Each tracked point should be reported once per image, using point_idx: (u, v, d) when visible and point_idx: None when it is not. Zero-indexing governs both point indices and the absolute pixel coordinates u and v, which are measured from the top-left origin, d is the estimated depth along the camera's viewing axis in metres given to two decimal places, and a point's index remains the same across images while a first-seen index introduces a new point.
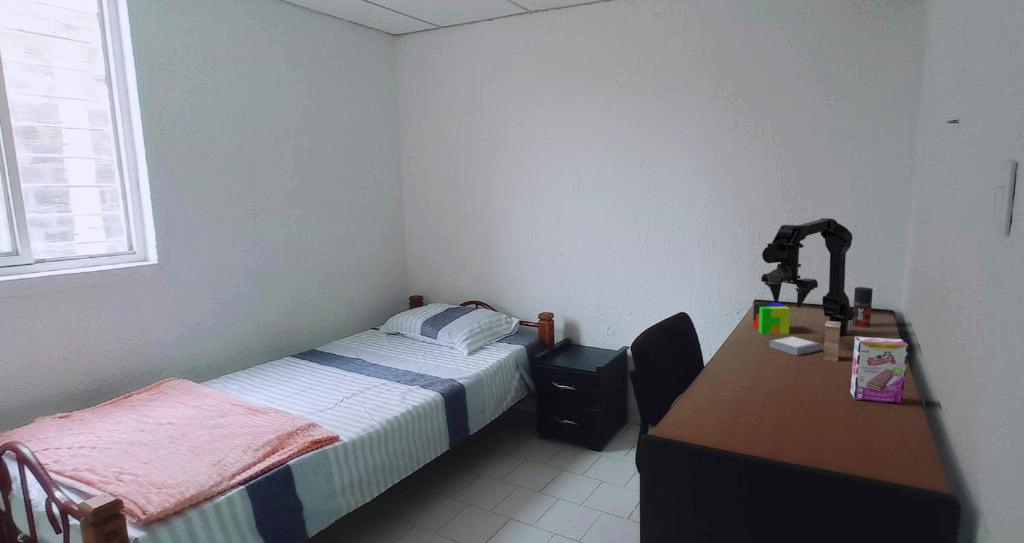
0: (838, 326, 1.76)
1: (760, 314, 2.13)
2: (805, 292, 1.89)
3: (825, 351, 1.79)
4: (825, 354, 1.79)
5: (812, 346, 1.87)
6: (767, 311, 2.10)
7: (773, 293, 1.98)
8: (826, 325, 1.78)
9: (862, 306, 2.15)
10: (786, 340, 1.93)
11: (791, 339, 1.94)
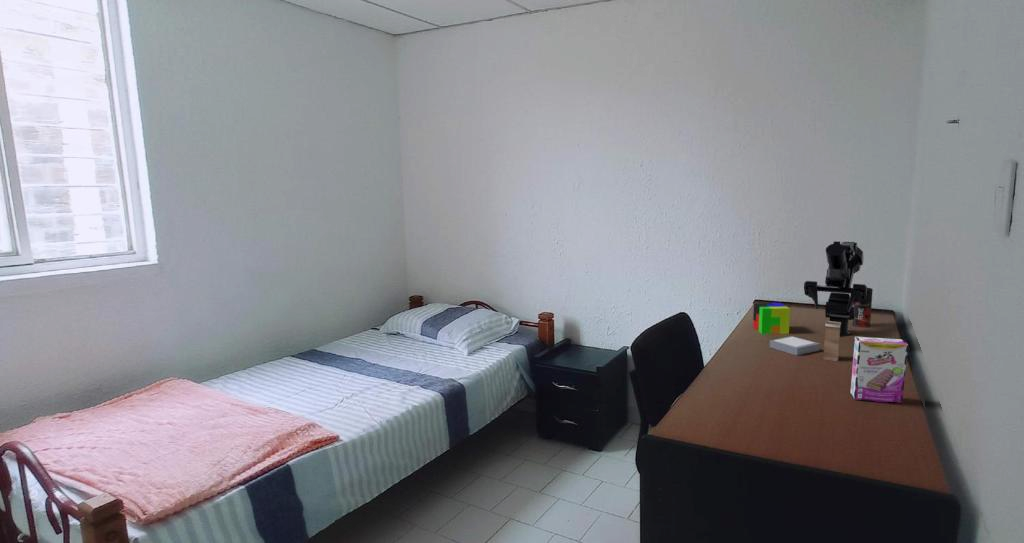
0: (838, 326, 1.76)
1: (760, 314, 2.13)
2: (854, 300, 1.88)
3: (825, 351, 1.79)
4: (825, 354, 1.79)
5: (812, 346, 1.87)
6: (767, 311, 2.10)
7: (816, 298, 1.92)
8: (826, 325, 1.78)
9: (862, 306, 2.15)
10: (786, 340, 1.93)
11: (791, 339, 1.94)
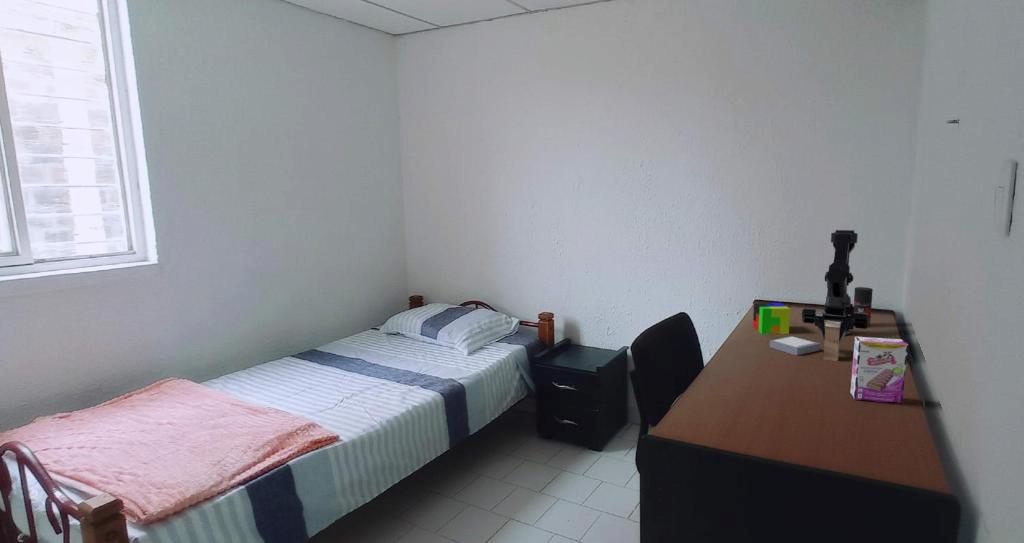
0: (838, 326, 1.76)
1: (760, 314, 2.13)
2: (846, 329, 1.79)
3: (825, 351, 1.79)
4: (825, 354, 1.79)
5: (812, 346, 1.87)
6: (767, 311, 2.10)
7: (823, 328, 1.80)
8: (826, 325, 1.78)
9: (862, 306, 2.15)
10: (786, 340, 1.93)
11: (791, 339, 1.94)
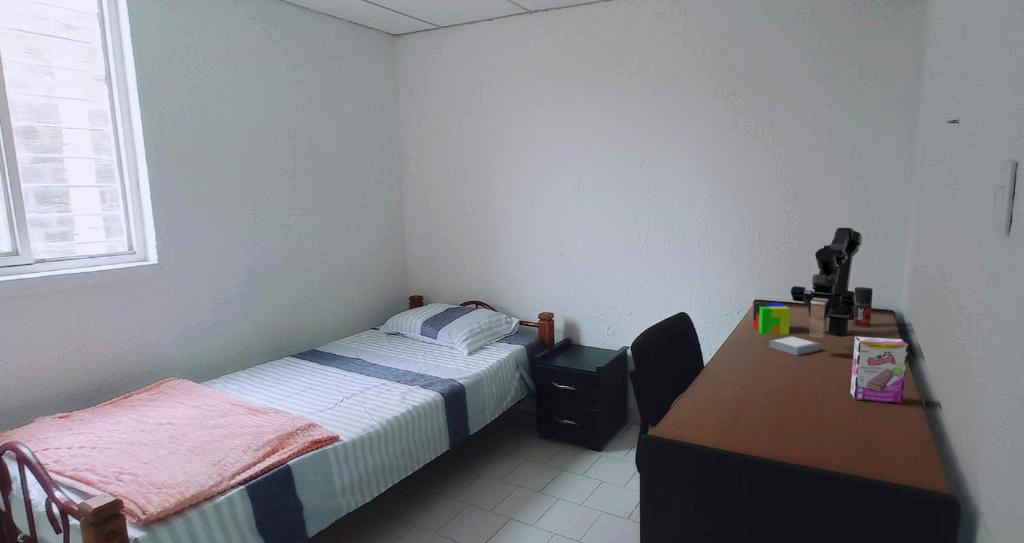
0: (823, 303, 1.79)
1: (760, 314, 2.13)
2: (833, 307, 1.82)
3: (811, 328, 1.82)
4: (811, 331, 1.82)
5: (812, 346, 1.87)
6: (767, 311, 2.10)
7: (810, 306, 1.83)
8: (812, 302, 1.81)
9: (862, 306, 2.15)
10: (786, 340, 1.93)
11: (791, 339, 1.94)
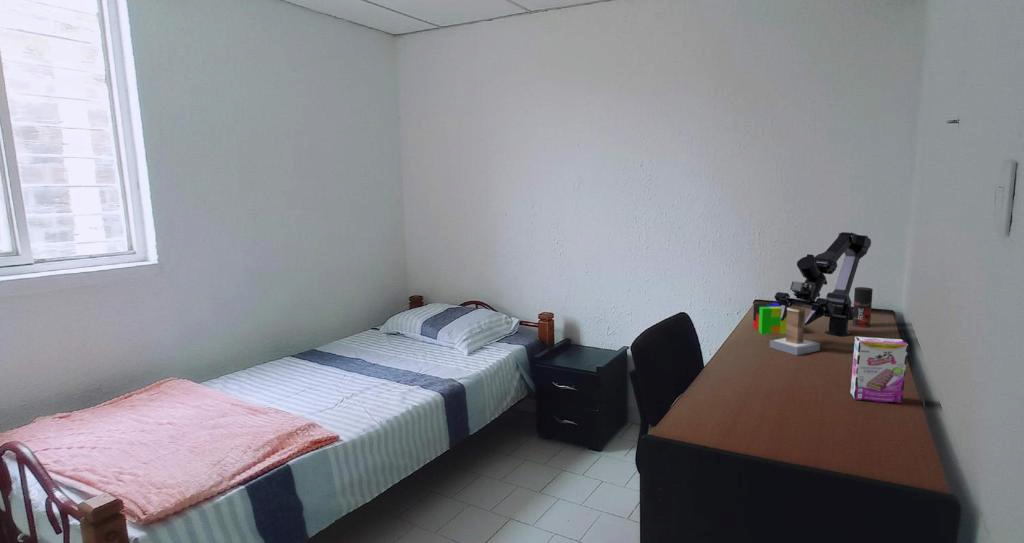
0: (797, 311, 1.87)
1: (760, 314, 2.13)
2: (817, 314, 1.87)
3: (787, 334, 1.91)
4: (787, 336, 1.91)
5: (812, 346, 1.87)
6: (767, 311, 2.10)
7: (783, 310, 1.94)
8: (788, 309, 1.90)
9: (862, 306, 2.15)
10: None
11: None
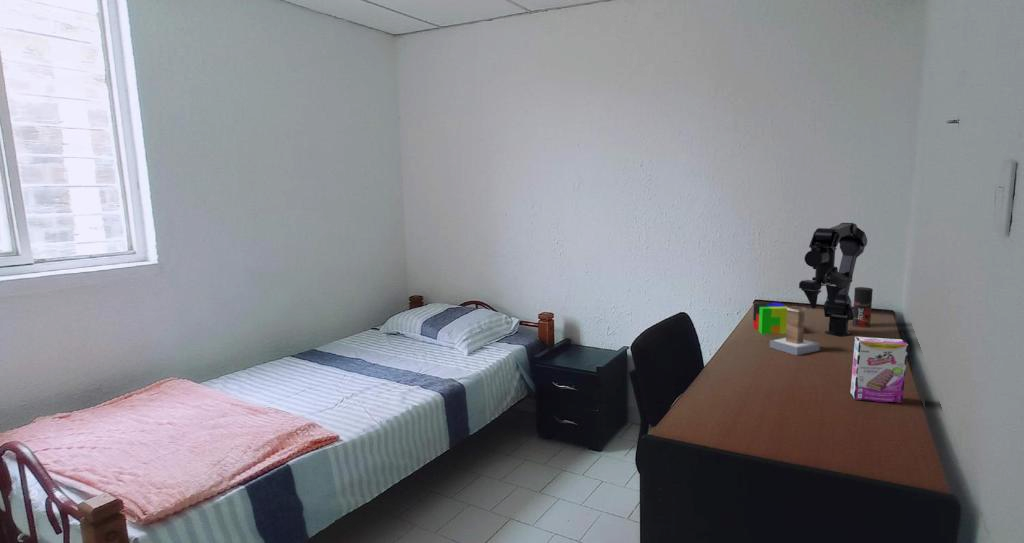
0: (797, 311, 1.87)
1: (760, 314, 2.13)
2: None
3: (787, 334, 1.91)
4: (787, 336, 1.91)
5: (812, 346, 1.87)
6: (767, 311, 2.10)
7: (816, 299, 1.93)
8: (788, 309, 1.90)
9: (862, 306, 2.15)
10: None
11: None
